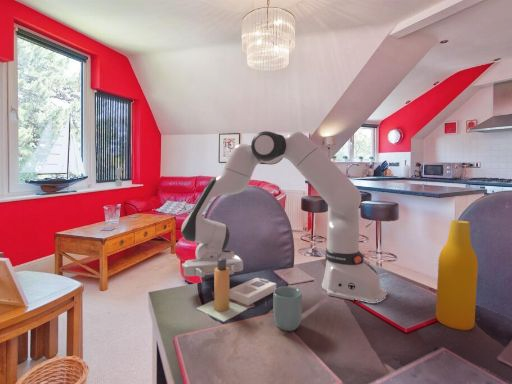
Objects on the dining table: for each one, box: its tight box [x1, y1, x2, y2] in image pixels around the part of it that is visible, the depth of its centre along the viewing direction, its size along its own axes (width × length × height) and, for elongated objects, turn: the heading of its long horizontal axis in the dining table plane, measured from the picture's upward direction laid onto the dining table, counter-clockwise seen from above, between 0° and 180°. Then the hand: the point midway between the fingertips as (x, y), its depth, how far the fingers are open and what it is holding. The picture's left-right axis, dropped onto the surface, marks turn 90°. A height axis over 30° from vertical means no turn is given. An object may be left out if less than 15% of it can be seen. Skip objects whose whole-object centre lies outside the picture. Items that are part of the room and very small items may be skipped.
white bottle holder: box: [229, 277, 277, 306], centre depth 100 cm, size 15×9×4 cm, turn 141°
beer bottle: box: [435, 219, 479, 331], centre depth 83 cm, size 9×9×29 cm
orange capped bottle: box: [213, 258, 230, 312], centre depth 89 cm, size 4×4×15 cm
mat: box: [195, 300, 248, 323], centre depth 89 cm, size 12×10×1 cm
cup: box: [272, 285, 303, 332], centre depth 81 cm, size 8×8×10 cm
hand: (217, 273), depth 95 cm, fingers open, 8 cm apart
